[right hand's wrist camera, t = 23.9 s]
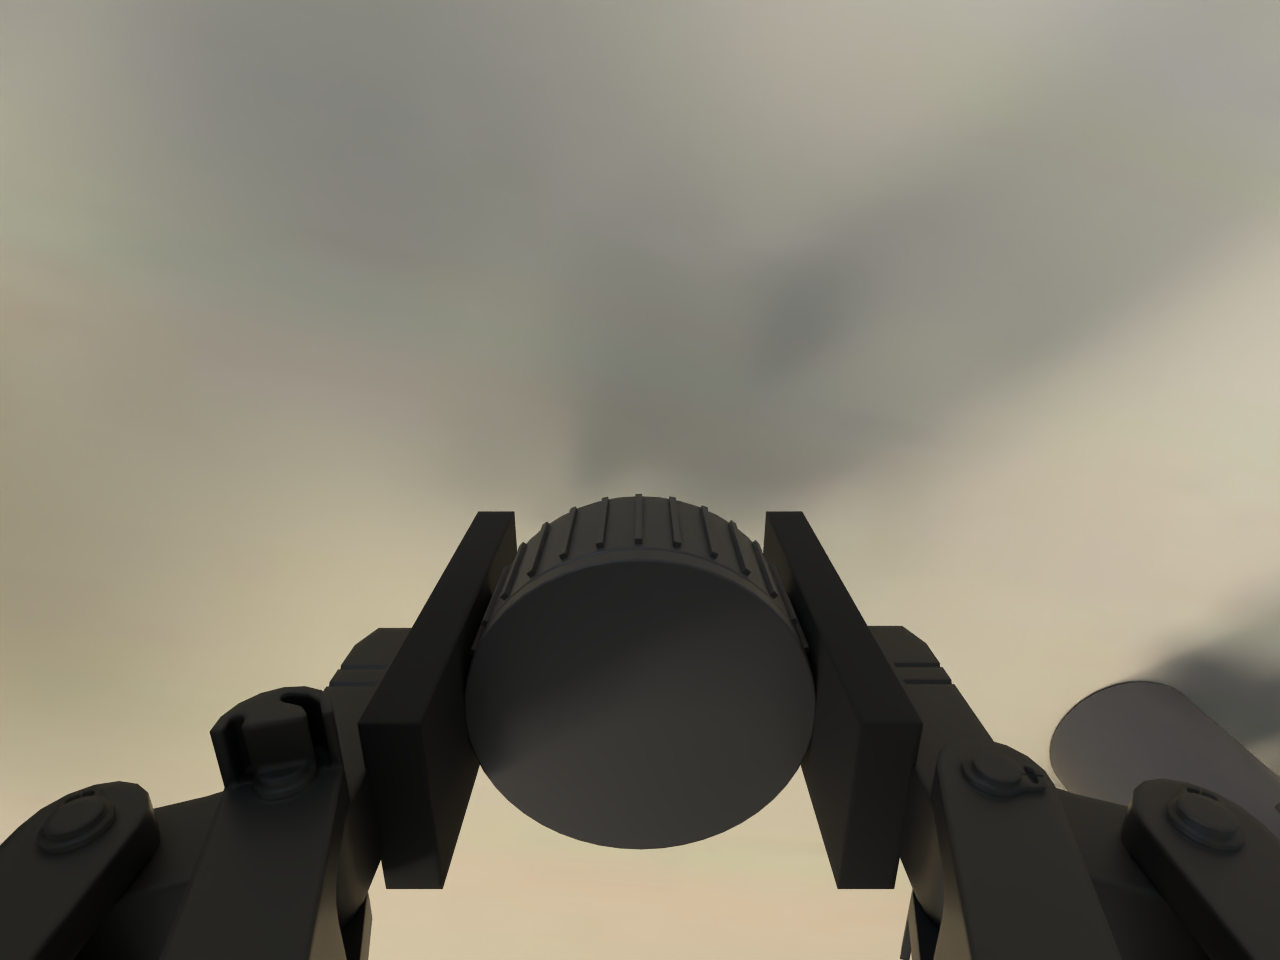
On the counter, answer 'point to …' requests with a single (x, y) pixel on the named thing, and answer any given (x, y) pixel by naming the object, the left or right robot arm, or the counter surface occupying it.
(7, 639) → the counter surface
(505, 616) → the lid
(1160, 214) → the counter surface
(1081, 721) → the jar
